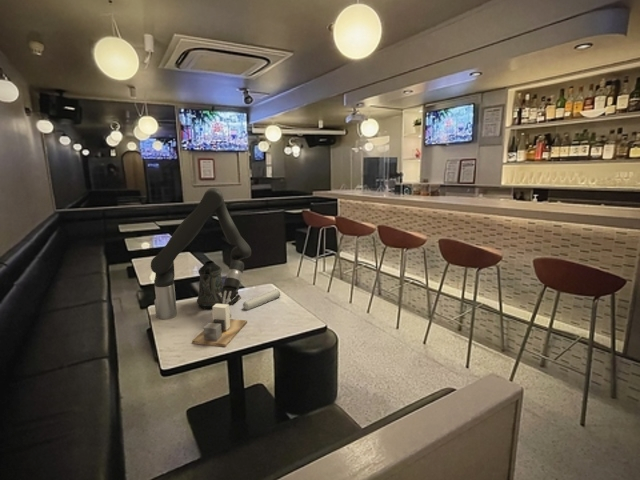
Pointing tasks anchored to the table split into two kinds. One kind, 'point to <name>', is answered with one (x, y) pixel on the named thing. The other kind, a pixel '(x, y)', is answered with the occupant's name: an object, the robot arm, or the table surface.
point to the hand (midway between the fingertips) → (223, 313)
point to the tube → (261, 299)
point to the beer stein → (209, 285)
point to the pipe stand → (219, 333)
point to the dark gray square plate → (220, 322)
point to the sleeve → (222, 313)
